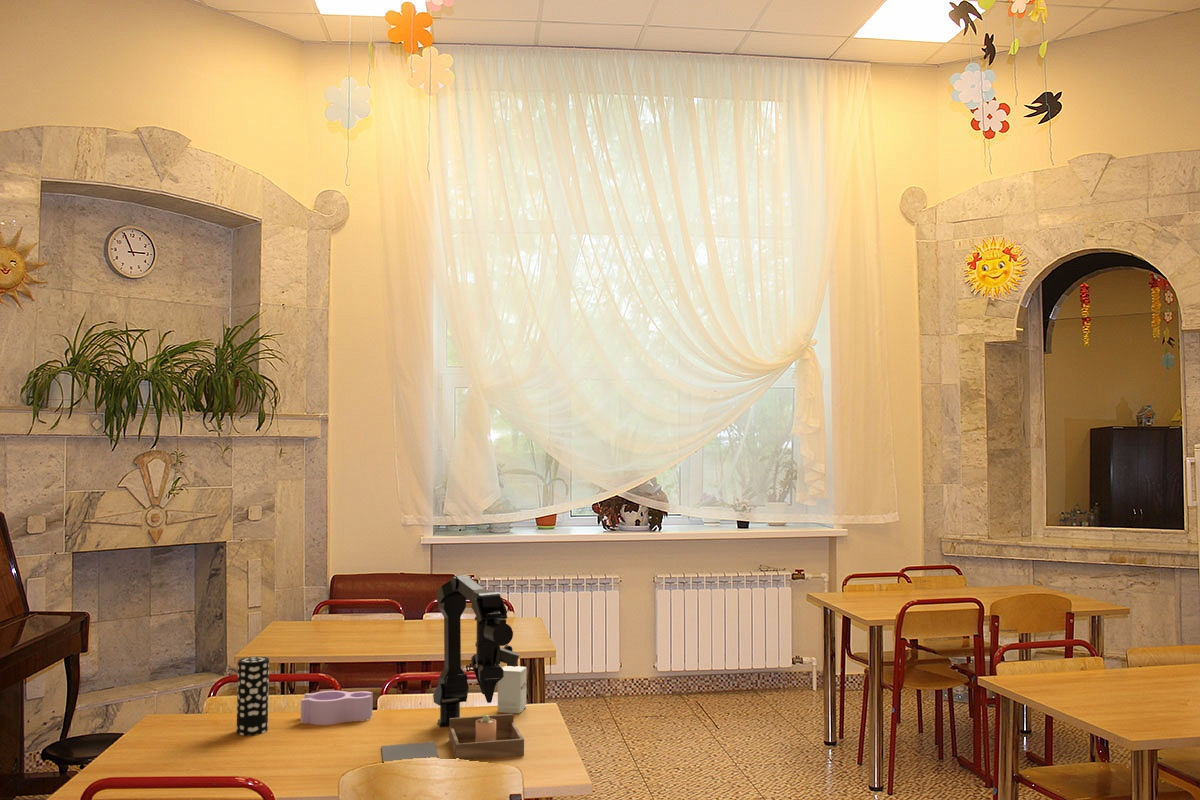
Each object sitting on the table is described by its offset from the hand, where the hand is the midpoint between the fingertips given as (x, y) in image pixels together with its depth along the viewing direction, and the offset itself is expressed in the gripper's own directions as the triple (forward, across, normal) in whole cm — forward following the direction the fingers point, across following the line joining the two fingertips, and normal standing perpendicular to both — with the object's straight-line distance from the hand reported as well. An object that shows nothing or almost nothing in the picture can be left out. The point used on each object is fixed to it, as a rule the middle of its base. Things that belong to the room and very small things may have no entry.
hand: (486, 698), depth 252 cm
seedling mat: (+13, 0, +20) cm, 24 cm away
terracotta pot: (+13, 0, 0) cm, 13 cm away
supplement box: (+13, +35, -13) cm, 40 cm away
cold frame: (+13, 0, 0) cm, 13 cm away
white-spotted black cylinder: (+13, +32, +62) cm, 71 cm away
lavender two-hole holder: (+13, +39, +39) cm, 57 cm away
